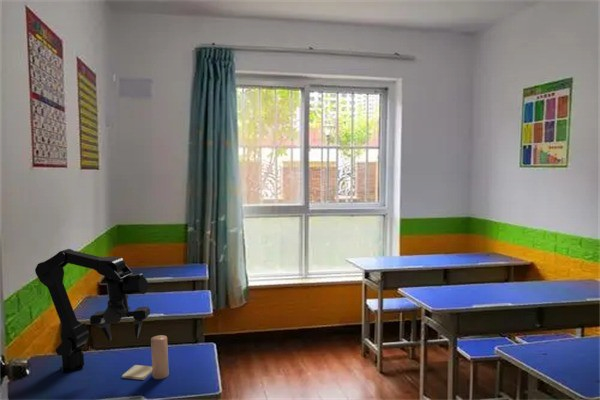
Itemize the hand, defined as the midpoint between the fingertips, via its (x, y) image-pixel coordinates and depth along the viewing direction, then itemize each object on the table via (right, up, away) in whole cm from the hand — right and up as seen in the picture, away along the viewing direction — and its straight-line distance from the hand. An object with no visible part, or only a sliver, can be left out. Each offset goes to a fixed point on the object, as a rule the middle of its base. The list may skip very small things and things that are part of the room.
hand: (123, 339), depth 162 cm
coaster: (+5, -12, 0) cm, 13 cm away
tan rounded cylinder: (+13, -12, -2) cm, 18 cm away
